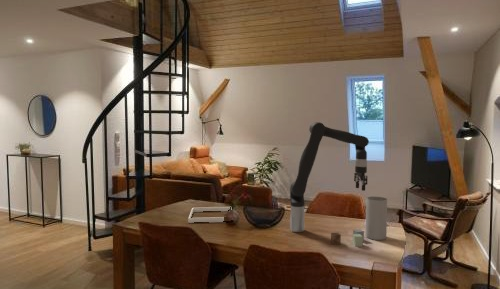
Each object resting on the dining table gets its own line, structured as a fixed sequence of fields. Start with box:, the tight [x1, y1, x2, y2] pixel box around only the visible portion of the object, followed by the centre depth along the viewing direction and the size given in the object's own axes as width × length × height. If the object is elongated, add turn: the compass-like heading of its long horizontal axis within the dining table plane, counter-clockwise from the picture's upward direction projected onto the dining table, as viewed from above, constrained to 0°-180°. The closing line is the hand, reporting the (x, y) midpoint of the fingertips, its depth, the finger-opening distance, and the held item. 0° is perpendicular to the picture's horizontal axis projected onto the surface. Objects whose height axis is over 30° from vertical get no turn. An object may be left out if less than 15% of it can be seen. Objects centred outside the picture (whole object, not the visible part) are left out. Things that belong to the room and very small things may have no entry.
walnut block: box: [330, 232, 342, 246], centre depth 216 cm, size 4×4×6 cm
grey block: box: [352, 228, 365, 242], centre depth 222 cm, size 4×4×6 cm
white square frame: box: [187, 206, 231, 224], centre depth 277 cm, size 32×32×4 cm
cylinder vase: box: [365, 196, 388, 241], centre depth 226 cm, size 12×12×25 cm
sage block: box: [351, 234, 364, 248], centre depth 212 cm, size 4×4×6 cm
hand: (360, 189), depth 241 cm, fingers open, 8 cm apart
